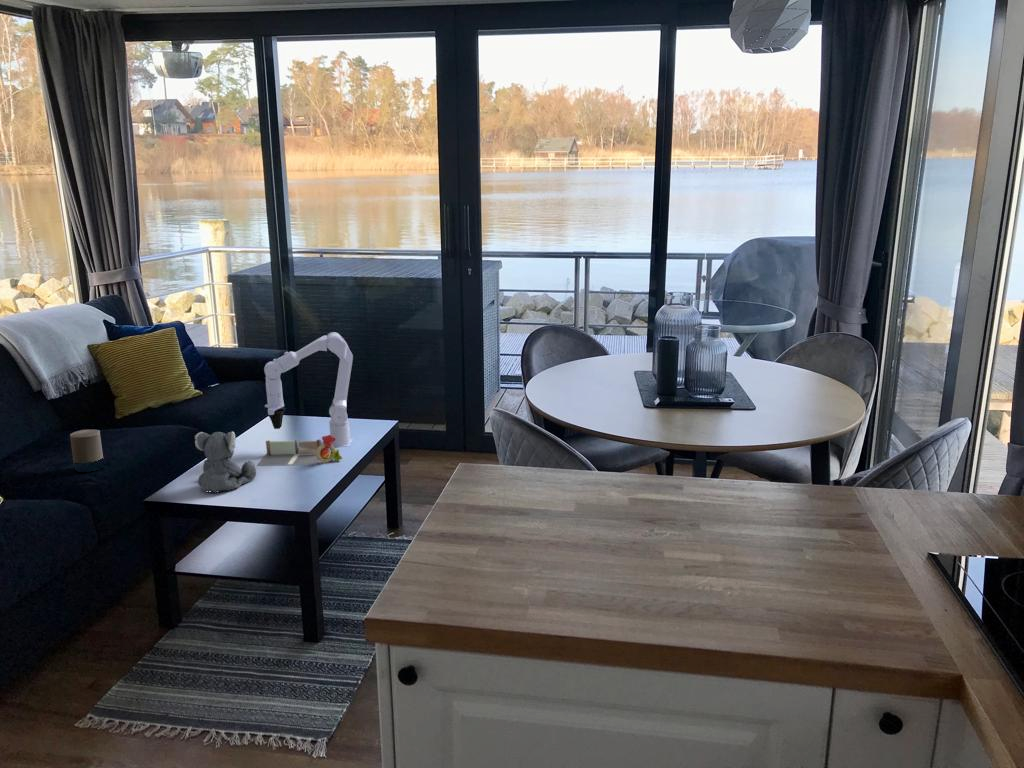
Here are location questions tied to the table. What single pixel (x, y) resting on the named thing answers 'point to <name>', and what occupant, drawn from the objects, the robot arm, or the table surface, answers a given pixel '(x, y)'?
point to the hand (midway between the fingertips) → (277, 427)
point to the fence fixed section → (308, 447)
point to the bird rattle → (324, 453)
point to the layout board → (289, 459)
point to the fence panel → (281, 447)
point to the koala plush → (222, 463)
